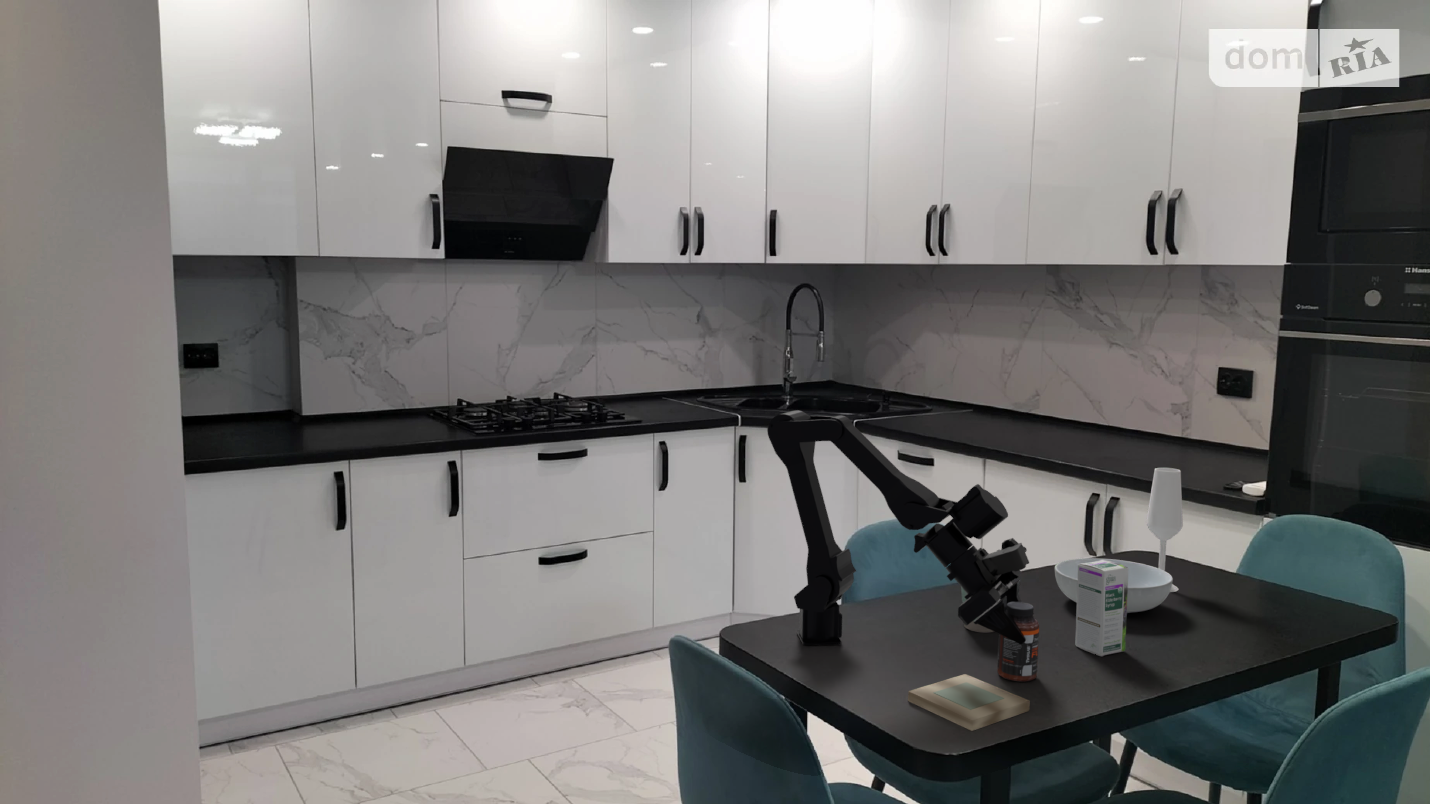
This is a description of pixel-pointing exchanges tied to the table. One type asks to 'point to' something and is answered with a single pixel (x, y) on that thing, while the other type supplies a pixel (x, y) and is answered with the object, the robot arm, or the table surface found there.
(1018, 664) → the supplement bottle
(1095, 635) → the syrup box
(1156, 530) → the champagne flute
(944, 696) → the board
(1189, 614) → the table surface
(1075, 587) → the serving bowl
